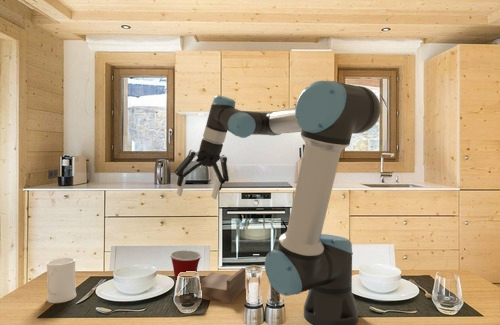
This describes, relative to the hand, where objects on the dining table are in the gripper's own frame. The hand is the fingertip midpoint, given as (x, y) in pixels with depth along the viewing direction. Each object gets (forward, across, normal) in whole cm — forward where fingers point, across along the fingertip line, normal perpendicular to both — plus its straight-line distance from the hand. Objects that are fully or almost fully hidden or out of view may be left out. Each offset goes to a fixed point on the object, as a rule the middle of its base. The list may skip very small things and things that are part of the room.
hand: (196, 196), depth 130 cm
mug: (+39, +38, +4) cm, 55 cm away
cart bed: (+24, -7, +23) cm, 34 cm away
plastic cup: (+29, +1, +14) cm, 32 cm away
